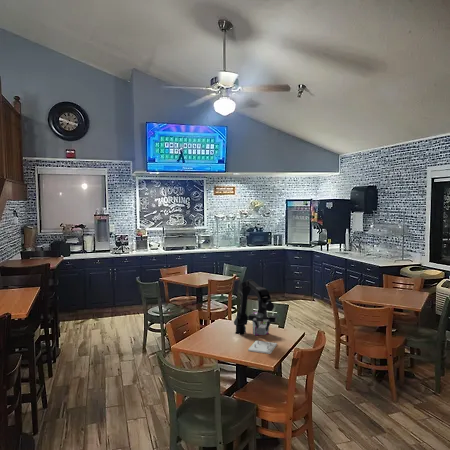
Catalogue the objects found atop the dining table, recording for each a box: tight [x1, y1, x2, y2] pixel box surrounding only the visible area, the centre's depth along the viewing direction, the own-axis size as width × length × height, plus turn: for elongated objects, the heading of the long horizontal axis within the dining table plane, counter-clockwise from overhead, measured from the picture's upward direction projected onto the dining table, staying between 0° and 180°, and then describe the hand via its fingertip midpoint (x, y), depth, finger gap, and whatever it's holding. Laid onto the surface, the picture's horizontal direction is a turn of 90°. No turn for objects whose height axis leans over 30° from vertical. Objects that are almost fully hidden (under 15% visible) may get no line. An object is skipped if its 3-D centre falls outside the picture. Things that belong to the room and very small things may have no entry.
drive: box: [256, 324, 270, 336], centre depth 259 cm, size 6×10×4 cm, turn 159°
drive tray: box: [247, 340, 278, 355], centre depth 259 cm, size 15×18×3 cm
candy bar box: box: [251, 311, 269, 337], centre depth 286 cm, size 11×5×16 cm, turn 112°
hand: (262, 330), depth 259 cm, fingers closed on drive, 6 cm apart
